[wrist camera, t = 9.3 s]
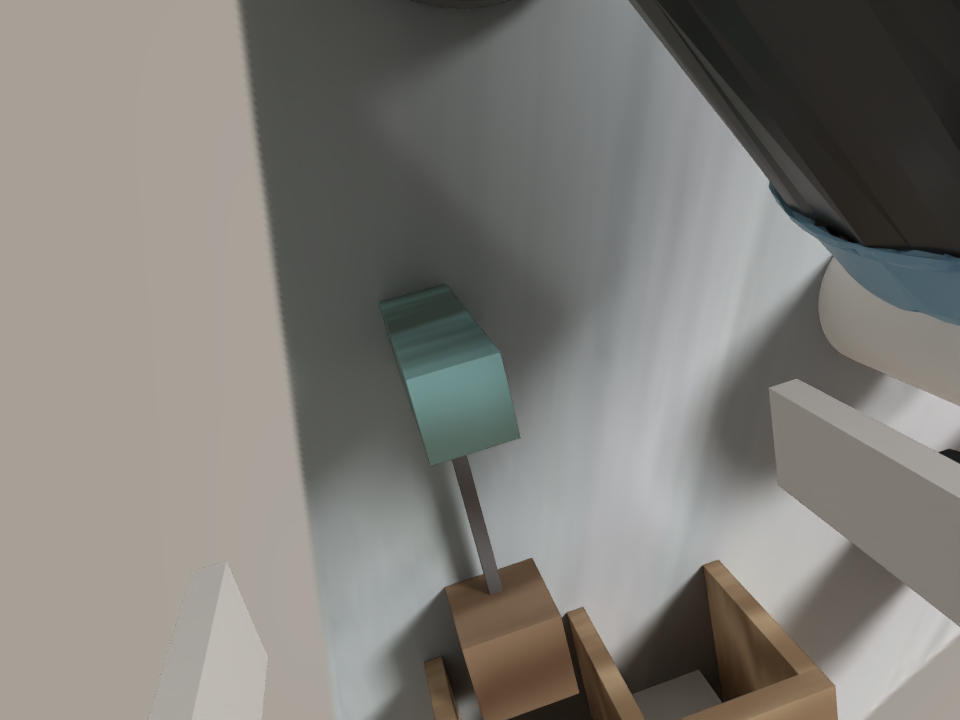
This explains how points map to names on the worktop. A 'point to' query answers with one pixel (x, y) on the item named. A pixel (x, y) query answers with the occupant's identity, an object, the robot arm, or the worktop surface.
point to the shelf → (740, 655)
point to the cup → (889, 336)
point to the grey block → (677, 698)
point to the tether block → (452, 436)
